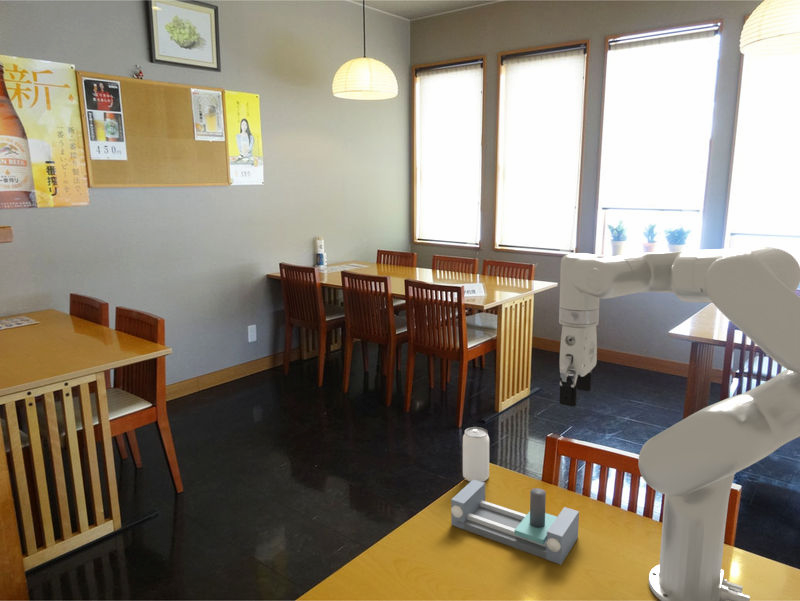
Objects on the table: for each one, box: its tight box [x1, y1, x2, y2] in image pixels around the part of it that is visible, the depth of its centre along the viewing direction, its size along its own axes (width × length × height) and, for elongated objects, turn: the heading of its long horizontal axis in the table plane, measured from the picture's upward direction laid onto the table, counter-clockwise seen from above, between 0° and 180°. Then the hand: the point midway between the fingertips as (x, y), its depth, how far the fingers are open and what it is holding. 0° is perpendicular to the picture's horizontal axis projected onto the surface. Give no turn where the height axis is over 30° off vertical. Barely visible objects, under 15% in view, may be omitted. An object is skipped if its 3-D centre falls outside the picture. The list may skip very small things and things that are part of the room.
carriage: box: [514, 488, 558, 544], centre depth 114 cm, size 6×9×8 cm, turn 145°
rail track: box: [450, 479, 580, 566], centre depth 118 cm, size 24×10×6 cm, turn 55°
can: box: [462, 426, 490, 483], centre depth 140 cm, size 6×6×12 cm
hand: (575, 397), depth 116 cm, fingers open, 9 cm apart
